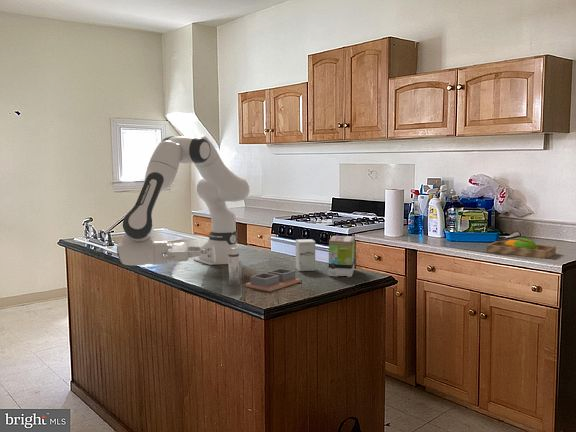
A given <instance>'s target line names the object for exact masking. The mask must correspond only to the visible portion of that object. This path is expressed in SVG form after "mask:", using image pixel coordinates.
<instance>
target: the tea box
mask: <svg viewBox="0 0 576 432" xmlns="http://www.w3.org/2000/svg"><path fill="white" fill-rule="evenodd" d="M355 239H356V237H355V236H354V235H353V236H352V235H332V236H331V237H330V239H329V241H328V270H327V271H328V275H327V276H328V277H338V276H347V277H346V278H351V277H353V274H354V270H355V255H356V254H355V250H356V248H355V246H356V240H355Z"/></svg>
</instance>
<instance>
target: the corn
mask: <svg viewBox="0 0 576 432" xmlns="http://www.w3.org/2000/svg"><path fill="white" fill-rule="evenodd" d="M504 242H505V243H506V245H507V246H508V247H515V248H525V249H535V250H537V249H538V248H537V247H536V245H537V243H535V241H533V240H531V239H529V238H524V237H517V239H509V240H507V241H504Z"/></svg>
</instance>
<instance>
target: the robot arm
mask: <svg viewBox="0 0 576 432" xmlns="http://www.w3.org/2000/svg"><path fill="white" fill-rule="evenodd" d="M180 164H194V166H195V167H196V170H197V171H198V173H199V175H200V176H201V177H202V178H201V179H200V180H199V181H198V183H197V185H196V193H197V195H198V197H199V198H200V199H201V200H202V201H203V202H204V203H205V205H206V207H207V209H208V211H209V214H210V221H211V223H210V224H211V231H210V232H209V233H207V236H209V237H208V240H206V242H204V243H203V244H202V245H201V246H192V245H188V243H187V242H176V241H175V242H174V241H173V242H172V241H169V240H153V236H154V230H155V229H154V225H153V217H152V214H153V210H154V207H155V205H156V202H157V200H158V198H159V196H160V193H161V192H162V191H166V190H167V189H170V187H171V186H172V184H173V182H174V181H175V179H176V176H177V173H178V169H179V167H180ZM144 177H145V178H144V181H143V186H142V188H141V190H140V193H139V195H138V197H137V200H136V202H135V204H134V205H133V207H132V208H131V210H130V211H129V212H127V213H126V214H125V216H124V218H123V220H122V228H123V231H124V234H123V237H122V238H121V240H119V242H118V243H117V245H116V252H117V257H118V260H119V262H120V263H121V264H123V265H126V266H145V265H153V266H156V265H157V266H158V265H168V263H169V262H187V261H189V258H193V261H196V262H199V263H201V264H205V265H211V266H213V265H229V258H228V248H231V247H237V248H239V247H238V241H237V239H238V233H237V229H236V228H237V226H236V225H237V224H236V223H237V222H236V214H235V212H234V211H233V210H232V209H229V207H228V206H227V204H226V202H231V203H232V202H234V203H235V202H236V203H237V202H241V201H245V200H246V199H247V198H248V196H249V194H250V185H249V183H248V181H247V180H246V179H244V178H242V177H240V176H238V175H236V174H235V173H234V172H233V171H231V169H229V168H228V167H227V166H226V164H225V163H224V162H223V160H222V159H221V156H220V154H219V153H218V150H217V149H216V147H215V146H214V144H213V143H212V142H211V139H209V138H208V136H206V135H203V134H196V135H194V136H191V135H182V136H181V135H176V136H174V135H172V136H167V137H165V138H163V139H162V140H161V141H160V142H159V143H158V145H157V146H156V147H155V150H154V151H153V153H152V155H151V157H150V160H149V162H148V165H147V167H146V172H145V176H144ZM240 258H241V257H240V256H239V262H241V259H240Z"/></svg>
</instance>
